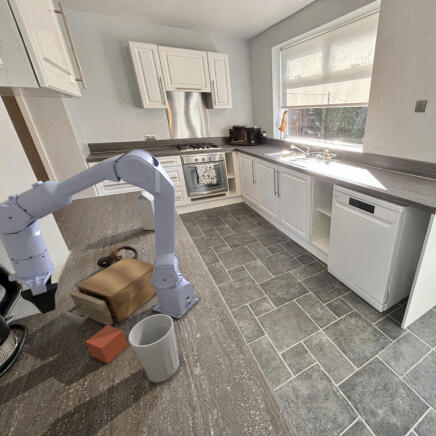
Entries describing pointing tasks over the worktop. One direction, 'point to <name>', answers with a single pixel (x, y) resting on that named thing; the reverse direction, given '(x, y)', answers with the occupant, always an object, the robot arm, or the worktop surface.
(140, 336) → the cup
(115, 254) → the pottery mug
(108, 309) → the drawer
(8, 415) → the worktop surface
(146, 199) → the milk carton
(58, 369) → the worktop surface
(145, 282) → the cabinet
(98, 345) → the block
